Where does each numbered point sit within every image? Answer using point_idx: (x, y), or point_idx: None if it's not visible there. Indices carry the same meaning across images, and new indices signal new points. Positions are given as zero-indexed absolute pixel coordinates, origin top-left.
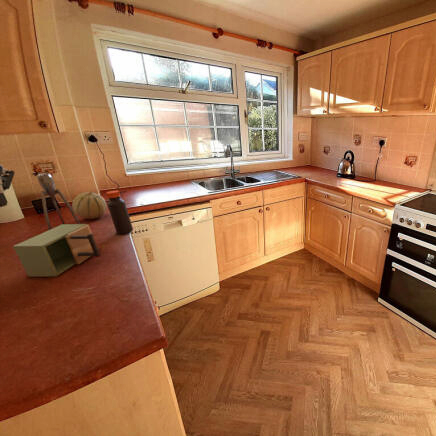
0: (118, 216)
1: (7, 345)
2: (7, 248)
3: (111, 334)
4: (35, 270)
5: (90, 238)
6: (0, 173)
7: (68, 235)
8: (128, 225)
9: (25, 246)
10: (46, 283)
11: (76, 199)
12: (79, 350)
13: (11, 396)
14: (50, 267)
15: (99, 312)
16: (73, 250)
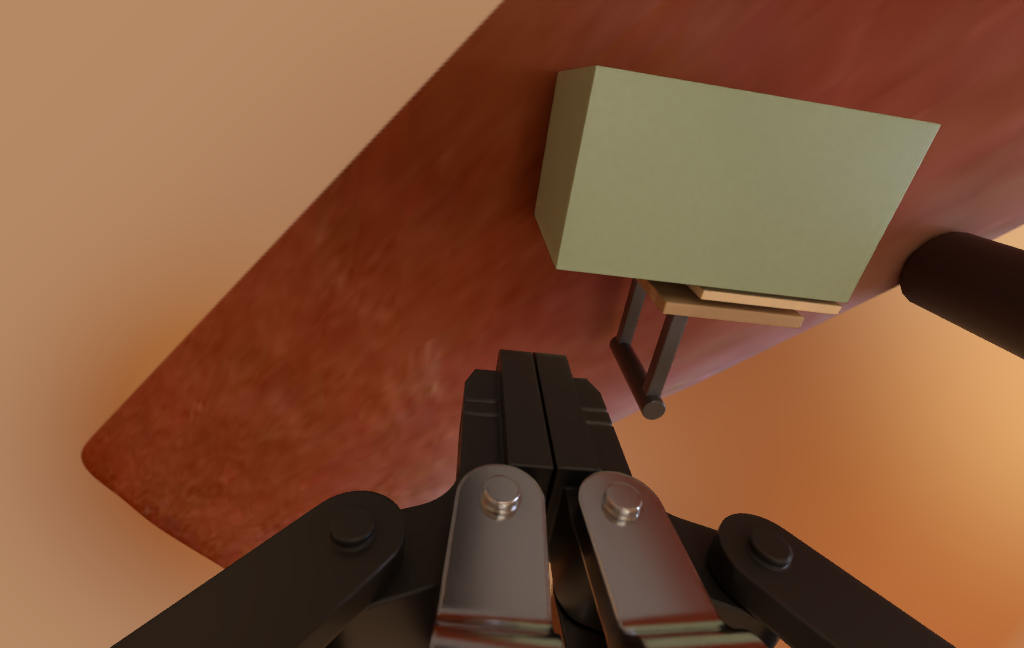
0: (1001, 328)
1: (189, 338)
2: None
3: (258, 523)
4: (552, 130)
5: (636, 401)
6: None
7: (681, 308)
8: (944, 318)
9: (576, 161)
10: (484, 212)
11: None
12: (208, 493)
13: (89, 451)
14: (540, 219)
15: (325, 468)
16: (636, 279)
